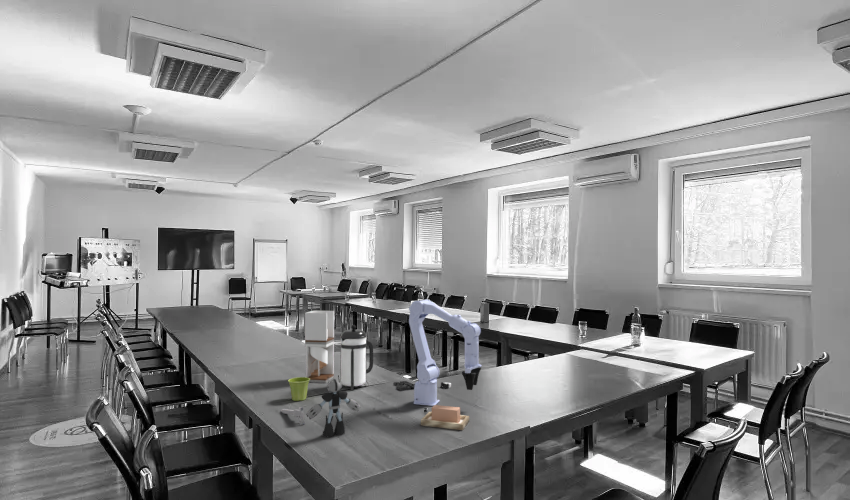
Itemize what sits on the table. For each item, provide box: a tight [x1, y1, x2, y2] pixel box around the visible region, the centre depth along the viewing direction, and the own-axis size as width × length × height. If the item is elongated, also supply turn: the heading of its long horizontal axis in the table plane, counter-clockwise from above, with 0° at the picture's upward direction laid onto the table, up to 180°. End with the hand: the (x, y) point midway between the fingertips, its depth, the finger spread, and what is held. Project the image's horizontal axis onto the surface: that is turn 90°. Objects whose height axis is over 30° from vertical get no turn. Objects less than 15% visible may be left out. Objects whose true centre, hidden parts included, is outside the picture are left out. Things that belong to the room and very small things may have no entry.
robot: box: [306, 375, 361, 438], centre depth 163 cm, size 20×5×20 cm, turn 120°
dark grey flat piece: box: [393, 380, 452, 392], centre depth 226 cm, size 20×25×3 cm
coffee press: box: [339, 324, 374, 391], centre depth 227 cm, size 17×16×30 cm
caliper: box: [280, 406, 305, 426], centre depth 180 cm, size 21×1×6 cm, turn 39°
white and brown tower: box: [304, 310, 335, 384], centre depth 239 cm, size 11×11×35 cm
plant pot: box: [287, 376, 310, 402], centre depth 205 cm, size 9×9×9 cm
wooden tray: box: [420, 411, 470, 431], centre depth 173 cm, size 16×10×2 cm, turn 71°
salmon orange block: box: [431, 404, 461, 423], centre depth 173 cm, size 10×4×5 cm, turn 71°
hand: (471, 387), depth 189 cm, fingers open, 7 cm apart
